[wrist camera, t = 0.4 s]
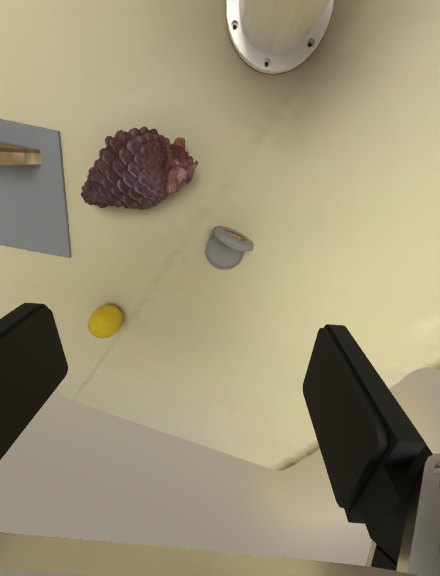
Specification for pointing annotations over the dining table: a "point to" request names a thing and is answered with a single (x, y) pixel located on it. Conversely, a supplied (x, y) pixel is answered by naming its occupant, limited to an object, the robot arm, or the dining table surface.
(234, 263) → the pocket watch
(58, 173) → the mat
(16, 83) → the dining table surface
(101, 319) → the lemon
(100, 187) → the pine cone
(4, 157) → the wooden block
